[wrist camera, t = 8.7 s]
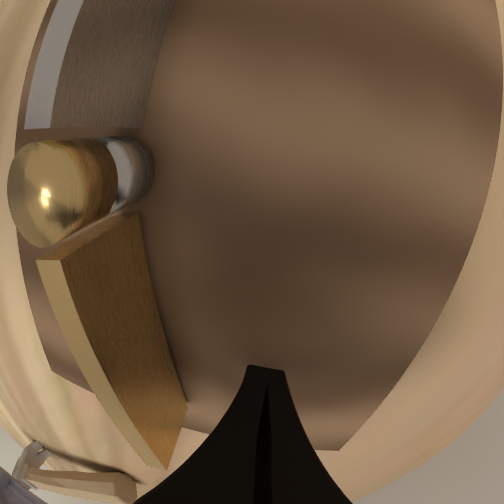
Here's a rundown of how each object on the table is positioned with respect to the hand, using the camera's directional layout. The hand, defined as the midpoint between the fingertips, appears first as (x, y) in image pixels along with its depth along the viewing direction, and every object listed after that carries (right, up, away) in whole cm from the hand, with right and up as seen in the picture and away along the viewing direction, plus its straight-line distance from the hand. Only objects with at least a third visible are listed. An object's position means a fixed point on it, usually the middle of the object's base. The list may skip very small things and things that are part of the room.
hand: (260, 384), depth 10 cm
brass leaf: (-4, +3, 0) cm, 5 cm away
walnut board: (-2, +7, 0) cm, 8 cm away
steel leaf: (-4, +12, -3) cm, 13 cm away
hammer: (-29, -28, +17) cm, 43 cm away
